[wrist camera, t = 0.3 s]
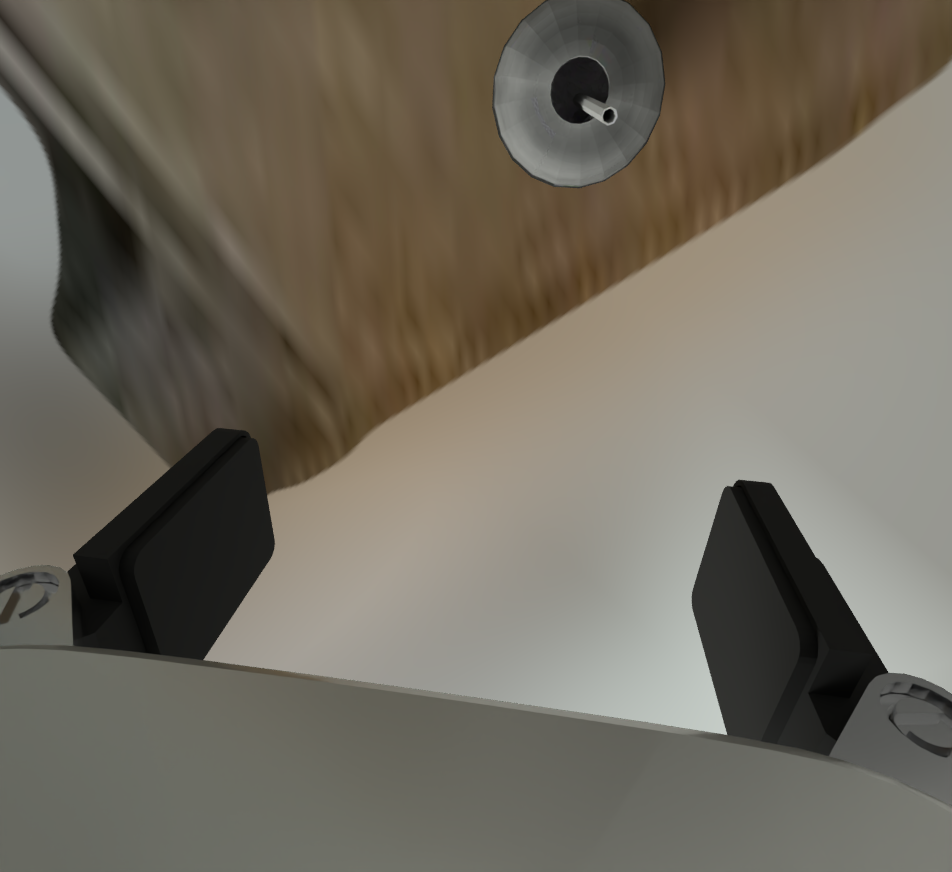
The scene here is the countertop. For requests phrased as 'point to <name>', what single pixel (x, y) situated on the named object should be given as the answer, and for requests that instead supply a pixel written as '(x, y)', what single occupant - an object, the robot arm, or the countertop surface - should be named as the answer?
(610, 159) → the beverage cup
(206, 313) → the countertop surface
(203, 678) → the robot arm
